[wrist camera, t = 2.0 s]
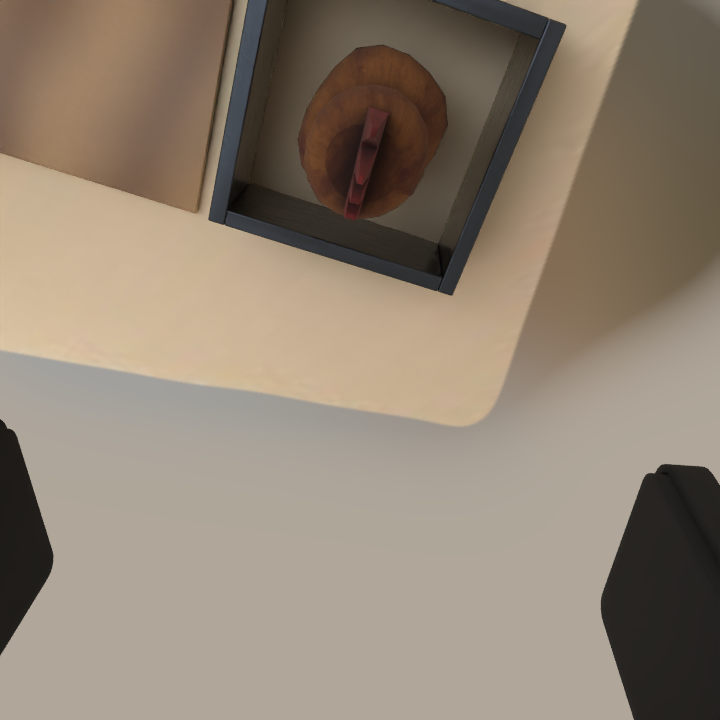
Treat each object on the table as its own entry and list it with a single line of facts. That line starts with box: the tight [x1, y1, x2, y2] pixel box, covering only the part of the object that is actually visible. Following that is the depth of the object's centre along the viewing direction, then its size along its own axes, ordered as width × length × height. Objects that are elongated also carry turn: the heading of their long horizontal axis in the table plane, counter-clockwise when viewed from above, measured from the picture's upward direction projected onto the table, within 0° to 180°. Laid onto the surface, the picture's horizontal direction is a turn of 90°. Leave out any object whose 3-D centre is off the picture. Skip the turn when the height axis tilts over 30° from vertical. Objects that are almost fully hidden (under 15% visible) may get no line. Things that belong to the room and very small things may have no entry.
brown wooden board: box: [0, 0, 233, 213], centre depth 30 cm, size 20×14×1 cm
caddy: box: [209, 0, 566, 295], centre depth 29 cm, size 13×13×5 cm
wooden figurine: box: [297, 45, 448, 221], centre depth 25 cm, size 7×6×15 cm
